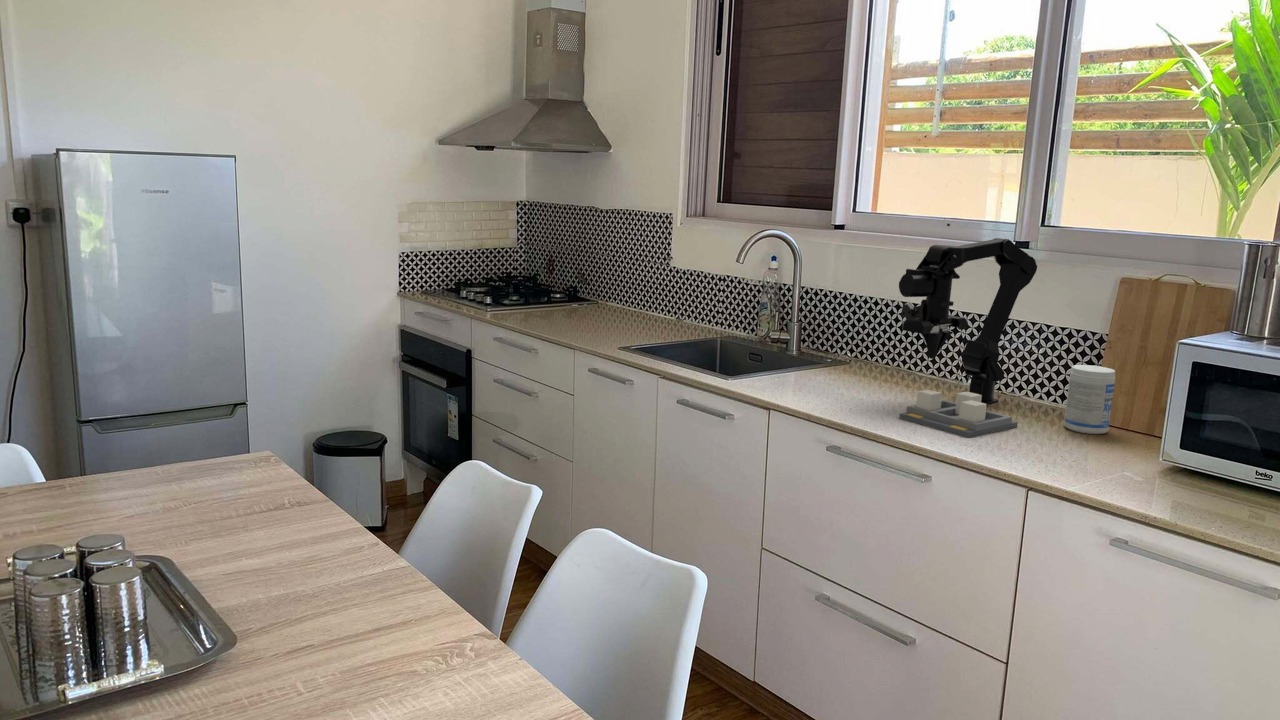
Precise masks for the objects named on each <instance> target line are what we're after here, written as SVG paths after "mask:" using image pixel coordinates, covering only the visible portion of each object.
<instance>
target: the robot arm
mask: <svg viewBox="0 0 1280 720" xmlns="http://www.w3.org/2000/svg"><path fill="white" fill-rule="evenodd" d="M992 257H993V258H994V261H995V262H996V264H997V265H999V267H1000V268H999V272H998V277H999V287H998V290H997V292H996V295H995V296H994V299H993V302H992V304H991V305H990V306H991V307H990V309H989V311H988V314H987V315H986V316H987V317H986V319H985V321H984V323H983V326H982V328H981V331H980V333H979V335H978V337H976V338H975V339H968V340H967V341H966V344H965V347H964V350H963V351H962V352H961V355H962V357H961V362H962V365H963V369H964V373H965V375H967V376H970V382H969V383H970V384H969V389H968V392H971V393H975V394H979V395H982V398H981V403H985V404H993V403H998V402H999V401H1000V400H999V399H997V398H994V397H995V389H996V382H999V381H1000V382H1001V381H1003V378H1004V376H1005V371H1004V370H1003V368H1002V367H1001V365H1000V363H999V358H1000V350H999V349H1000V348H999V341H1000V339H1001V337H1002V334H1003V332H1004V330H1005V327H1006V325H1007V323H1008V319H1009V317H1010V316H1011V313H1012V310H1013V308H1014V306H1015V304H1016V301H1017V298H1018V297H1019V293H1020V292H1021V291H1022V290H1023V289H1024V288H1025V287H1026V286H1028V285H1029V284H1030V283H1031V282H1032V280H1033V278H1034V276H1035V275H1036V273H1037V269H1038V265H1037V262H1036V259H1035V258H1034V257H1033V256H1031V255H1030V254H1028V253H1027V252H1026V251H1024V250H1023V249H1021V248H1020V247H1018V246H1017V245H1015V244H1014V242H1013V241H1012V240H1010V239H1007V238H1001V237H994V238H992V239H987V240H983V241H979V242H973V243H968V244H963V245H949V244H947V245H946V244H933V245H931V246H929V248H928V250H927V252H926V254H925V256H923V258H922V260H921V261H920V263H919V264H918V265H917V267H916V268H915V269H914V268H906V269H905V274H903V275H902V276H901V278H900V280H899V282H898V290H899V293H900V294H901V295H902V297H904V298H917V297H918V298H921V297H922V298H925V299H922V300H921V302H920V305H917V306H914V305H913V304H912V303H905V304H903V305H902V307H901V317H902V318H905V320H904V321H903V322H902V331H905V332H910V333H915V334H921V336H922V337H923V340H924V342H925V345H926V351H927V354H928V358H929V359H932V360H933V359H936V357H937V356H938V354H939V352H940V351H941V349H942V347H943V346H944V344H945V343H946V342H947V340H948V338H949V337H950V336H951V335H952V334H954V332H953V331H951V330H949V327H953V328H956V329H958V330H960V331H961V330H967V329H968V321H967V319H966V317H961V316H957V315H956V316H955V315H950V314H949V312H950V307H953V306H954V303H955V302H954V301H952V300H951V297H952V296H951V295H952V284H953V280H958V279H960V278H961V276H960V274H958V273H957V272H956V269H957V268H958V269H959V268H960V267H962V266H963V265H964V264H965V263H967V262H970V261H977V260H983V259H988V258H992Z"/></svg>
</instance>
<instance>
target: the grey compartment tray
mask: <svg viewBox="0 0 1280 720" xmlns="http://www.w3.org/2000/svg"><path fill="white" fill-rule="evenodd" d="M955 408H956V402H953V401H950V400H945V399H941V408H940V409H938V410H932V411H929V410H925V409H922V408H918V407H916V404H912V405H911V404H910V405H906V411H905V412H900V413H899V417H898V419H900V420H905V421H908V422H912V423H915V424H919V425H921V426H925V427H929V428H931V429H932V428H933V429H935V430H940V431H943V432H947V433H950V434H953V435H957V436H961V437H964V438H966V439H967V438H968V439H969V438H974V437H978V436H982V435H987V434H993V433H995V432H996V433H998V432H1000V431H1001V432H1002V431H1005V430H1010V429H1014V428H1017V427H1018V421H1015V420H1013V416H1008V415H1005V414H1002V413H997V412H993V411H989V410H986V414H985V421H981V422H976V423H974V422H970V421H967V420H963V419H959V415H958V414H955Z"/></svg>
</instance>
